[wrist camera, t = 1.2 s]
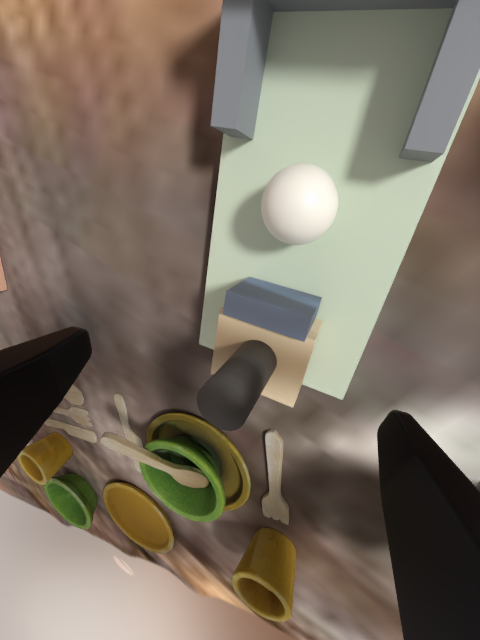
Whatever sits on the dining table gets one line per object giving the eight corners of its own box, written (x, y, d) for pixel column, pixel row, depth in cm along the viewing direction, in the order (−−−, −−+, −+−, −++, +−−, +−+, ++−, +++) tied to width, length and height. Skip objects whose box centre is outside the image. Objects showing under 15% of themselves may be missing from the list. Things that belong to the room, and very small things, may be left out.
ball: (329, 248, 17) (319, 258, 13) (267, 233, 18) (243, 239, 14) (351, 174, 15) (346, 163, 11) (281, 163, 16) (258, 151, 13)
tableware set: (299, 424, 24) (279, 487, 19) (306, 611, 33) (294, 689, 28) (20, 369, 41) (-32, 394, 35) (76, 504, 50) (41, 539, 44)
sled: (302, 381, 20) (268, 471, 13) (229, 352, 22) (165, 419, 15) (329, 299, 17) (304, 360, 10) (243, 274, 19) (172, 312, 12)
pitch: (343, 392, 21) (336, 445, 16) (204, 339, 24) (165, 370, 19) (521, -29, 11) (633, -202, 6) (249, -15, 15) (194, -120, 10)
